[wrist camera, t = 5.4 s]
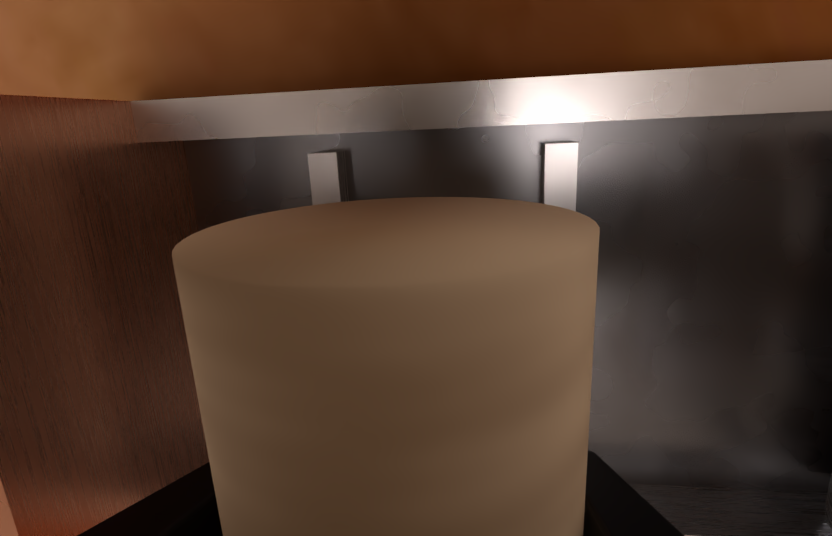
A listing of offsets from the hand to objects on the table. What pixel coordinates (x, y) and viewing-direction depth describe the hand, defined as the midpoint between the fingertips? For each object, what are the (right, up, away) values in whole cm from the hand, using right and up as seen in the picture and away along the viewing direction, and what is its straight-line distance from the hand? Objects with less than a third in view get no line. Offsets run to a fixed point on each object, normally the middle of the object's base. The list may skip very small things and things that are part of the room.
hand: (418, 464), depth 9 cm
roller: (0, 0, +1) cm, 1 cm away
